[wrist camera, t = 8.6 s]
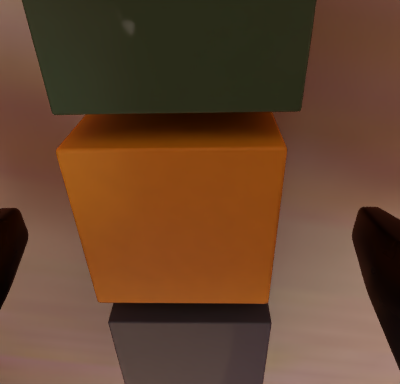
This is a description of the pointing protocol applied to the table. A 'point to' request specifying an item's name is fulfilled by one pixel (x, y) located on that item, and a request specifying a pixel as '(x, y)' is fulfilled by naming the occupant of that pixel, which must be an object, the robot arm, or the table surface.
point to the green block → (172, 54)
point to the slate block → (191, 342)
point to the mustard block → (176, 204)
